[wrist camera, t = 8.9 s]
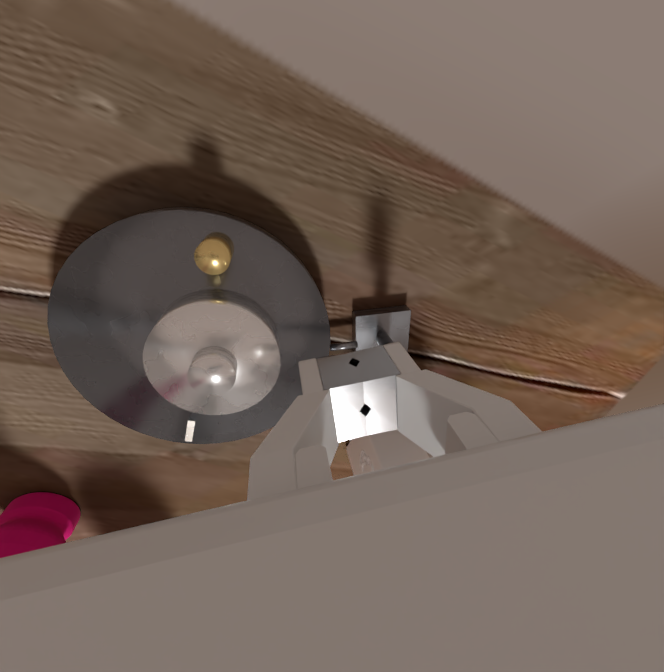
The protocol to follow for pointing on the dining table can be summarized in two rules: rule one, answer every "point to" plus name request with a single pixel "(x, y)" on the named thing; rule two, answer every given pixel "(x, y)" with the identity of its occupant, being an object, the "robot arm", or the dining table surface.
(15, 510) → the pepper mill
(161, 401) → the turntable
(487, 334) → the dining table surface
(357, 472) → the jar
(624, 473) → the robot arm
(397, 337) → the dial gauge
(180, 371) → the cover
